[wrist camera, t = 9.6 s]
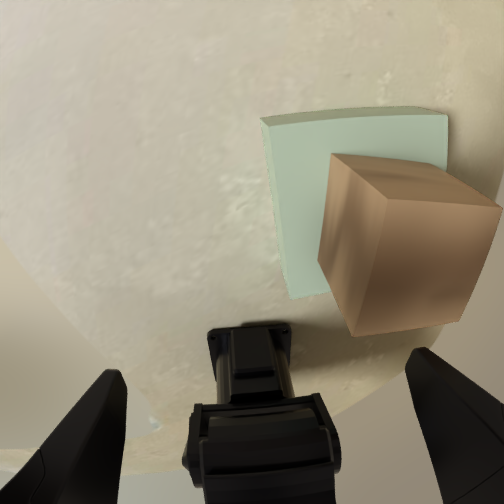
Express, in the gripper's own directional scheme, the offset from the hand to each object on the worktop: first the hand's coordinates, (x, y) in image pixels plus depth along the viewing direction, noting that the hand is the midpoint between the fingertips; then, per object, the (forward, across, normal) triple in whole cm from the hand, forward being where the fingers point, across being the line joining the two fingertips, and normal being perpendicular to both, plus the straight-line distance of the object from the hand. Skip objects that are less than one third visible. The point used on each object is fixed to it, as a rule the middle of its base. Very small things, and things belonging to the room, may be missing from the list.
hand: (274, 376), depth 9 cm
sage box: (+13, -7, -1) cm, 15 cm away
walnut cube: (+9, -7, -1) cm, 11 cm away
